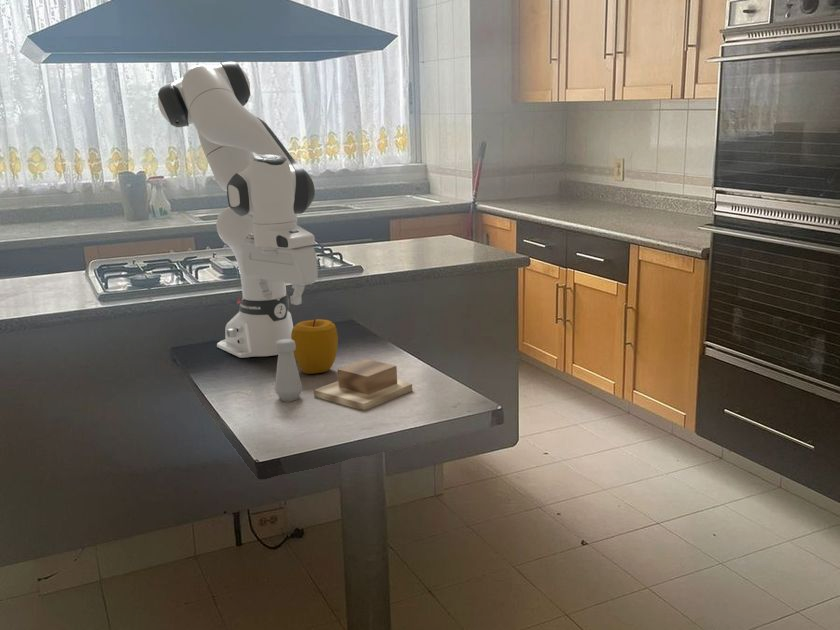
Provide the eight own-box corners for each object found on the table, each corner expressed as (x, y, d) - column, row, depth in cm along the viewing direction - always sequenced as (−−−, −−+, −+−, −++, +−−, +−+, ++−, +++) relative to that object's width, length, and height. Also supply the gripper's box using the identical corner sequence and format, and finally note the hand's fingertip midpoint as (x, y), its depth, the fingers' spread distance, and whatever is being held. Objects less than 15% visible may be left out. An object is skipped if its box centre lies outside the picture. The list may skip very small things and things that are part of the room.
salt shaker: (297, 403, 170) (292, 344, 167) (271, 402, 171) (266, 343, 168) (306, 394, 176) (302, 336, 173) (281, 393, 177) (277, 336, 174)
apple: (315, 382, 184) (311, 327, 181) (283, 374, 190) (279, 321, 187) (349, 370, 192) (346, 317, 189) (318, 362, 199) (314, 311, 195)
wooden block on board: (314, 396, 174) (312, 372, 173) (363, 378, 185) (361, 355, 184) (363, 410, 165) (362, 385, 163) (412, 390, 176) (411, 366, 174)
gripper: (232, 234, 170) (238, 298, 173) (296, 240, 156) (301, 310, 160) (256, 230, 174) (262, 293, 177) (320, 236, 161) (325, 304, 164)
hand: (281, 301), depth 168 cm, fingers open, 8 cm apart
